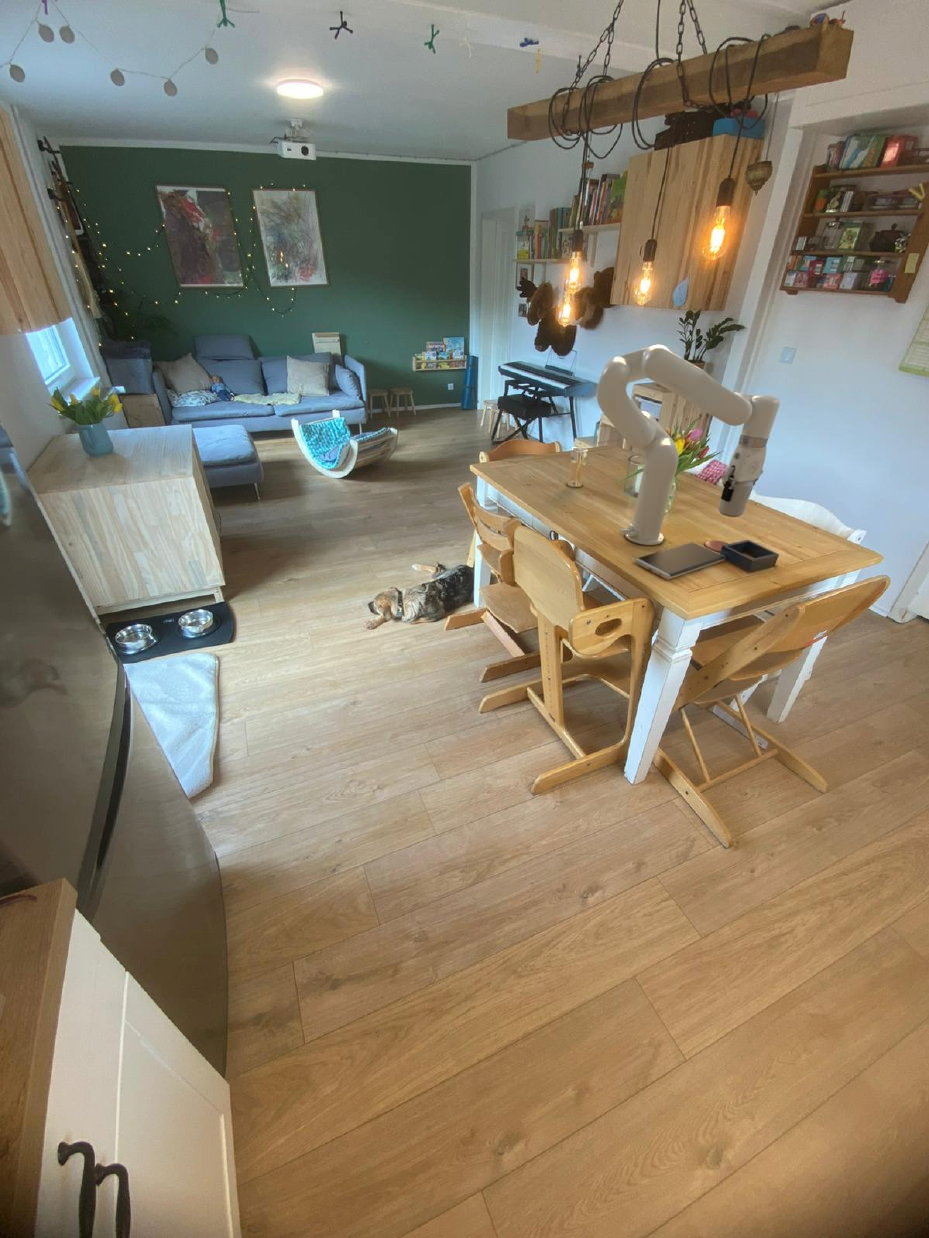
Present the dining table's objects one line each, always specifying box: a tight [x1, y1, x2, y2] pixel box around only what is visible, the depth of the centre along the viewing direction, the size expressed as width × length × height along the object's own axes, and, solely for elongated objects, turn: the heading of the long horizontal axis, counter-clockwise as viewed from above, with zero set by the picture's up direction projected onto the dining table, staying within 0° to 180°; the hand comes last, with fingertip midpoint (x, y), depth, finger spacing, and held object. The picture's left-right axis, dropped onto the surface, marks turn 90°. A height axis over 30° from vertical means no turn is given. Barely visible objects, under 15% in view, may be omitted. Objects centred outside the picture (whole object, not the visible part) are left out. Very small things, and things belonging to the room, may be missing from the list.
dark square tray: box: [719, 539, 780, 573], centre depth 166 cm, size 12×12×4 cm
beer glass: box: [567, 446, 589, 488], centre depth 220 cm, size 7×7×15 cm
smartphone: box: [634, 541, 726, 580], centre depth 165 cm, size 13×27×2 cm, turn 121°
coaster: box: [704, 540, 729, 553], centre depth 175 cm, size 9×9×1 cm
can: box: [717, 477, 754, 518], centre depth 166 cm, size 8×8×12 cm
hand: (734, 498), depth 166 cm, fingers closed on can, 7 cm apart
